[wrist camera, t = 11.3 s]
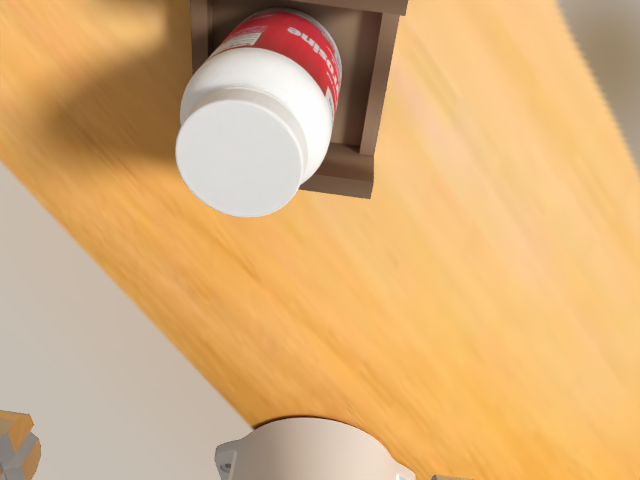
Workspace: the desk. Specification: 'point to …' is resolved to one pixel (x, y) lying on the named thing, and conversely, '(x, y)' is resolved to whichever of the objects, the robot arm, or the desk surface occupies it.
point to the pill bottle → (259, 113)
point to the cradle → (356, 84)
